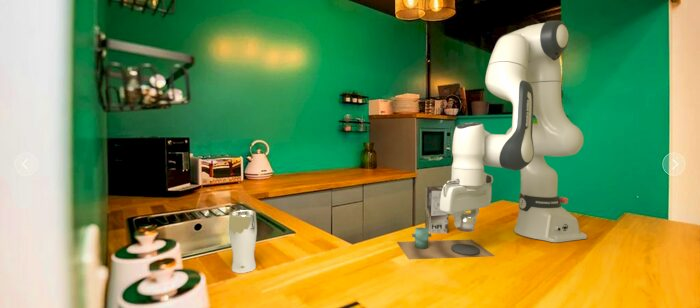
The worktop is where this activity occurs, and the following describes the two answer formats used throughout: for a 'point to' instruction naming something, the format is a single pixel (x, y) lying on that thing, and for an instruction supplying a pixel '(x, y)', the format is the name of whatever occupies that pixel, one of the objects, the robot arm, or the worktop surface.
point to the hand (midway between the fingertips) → (465, 224)
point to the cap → (467, 222)
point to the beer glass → (243, 239)
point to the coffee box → (435, 211)
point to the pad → (465, 249)
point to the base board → (435, 247)
